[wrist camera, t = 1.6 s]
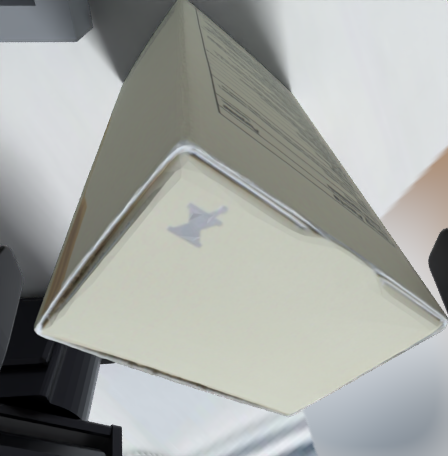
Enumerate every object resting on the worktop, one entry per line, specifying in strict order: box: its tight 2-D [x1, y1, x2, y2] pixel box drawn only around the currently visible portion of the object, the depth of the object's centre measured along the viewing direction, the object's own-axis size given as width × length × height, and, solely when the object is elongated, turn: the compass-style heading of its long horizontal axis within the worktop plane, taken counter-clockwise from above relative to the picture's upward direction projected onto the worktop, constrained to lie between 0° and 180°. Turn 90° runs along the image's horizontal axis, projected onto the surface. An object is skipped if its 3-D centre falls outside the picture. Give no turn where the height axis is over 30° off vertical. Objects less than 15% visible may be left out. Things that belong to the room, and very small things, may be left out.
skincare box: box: [34, 0, 448, 417], centre depth 11 cm, size 6×4×12 cm
